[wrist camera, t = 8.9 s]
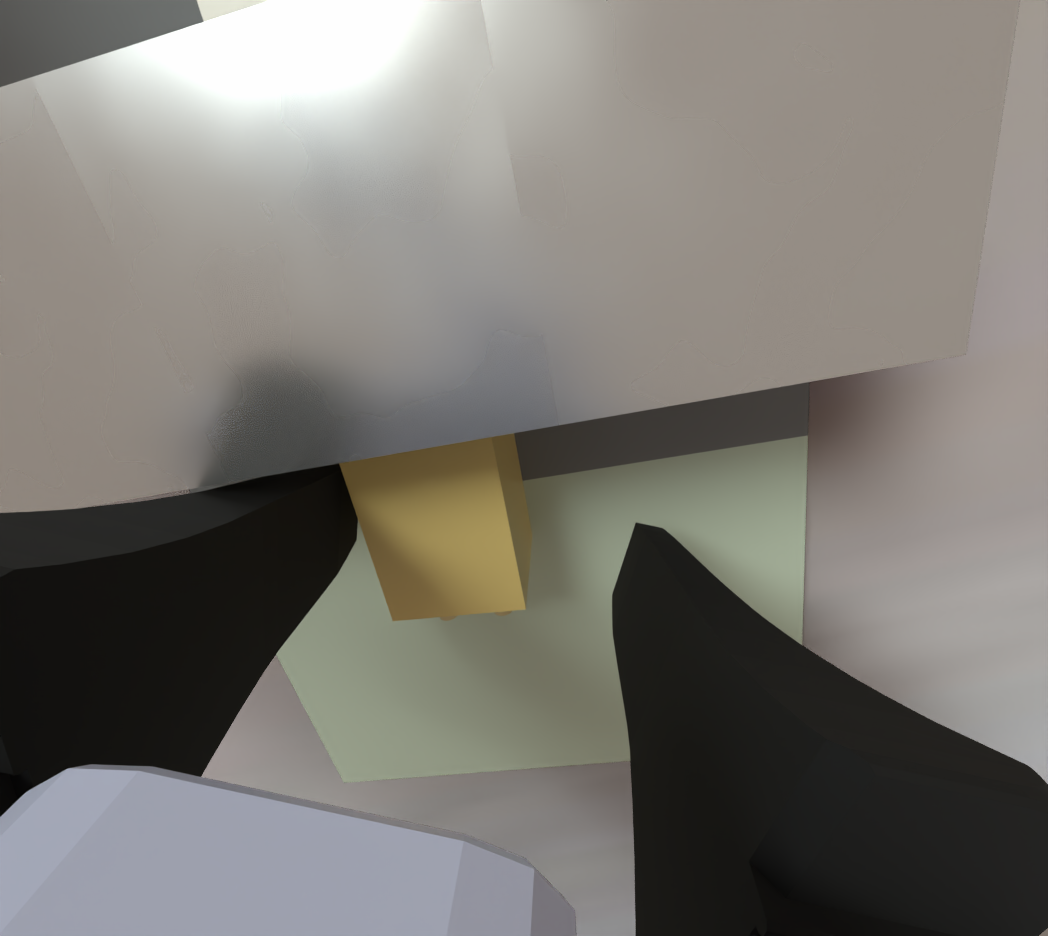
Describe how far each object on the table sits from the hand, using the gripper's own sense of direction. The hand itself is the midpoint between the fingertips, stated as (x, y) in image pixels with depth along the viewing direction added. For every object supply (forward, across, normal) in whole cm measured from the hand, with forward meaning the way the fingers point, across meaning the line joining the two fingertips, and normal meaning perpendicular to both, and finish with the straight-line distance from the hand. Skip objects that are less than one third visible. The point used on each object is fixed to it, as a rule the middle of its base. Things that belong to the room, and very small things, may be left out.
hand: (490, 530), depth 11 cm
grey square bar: (+2, +3, -5) cm, 6 cm away
